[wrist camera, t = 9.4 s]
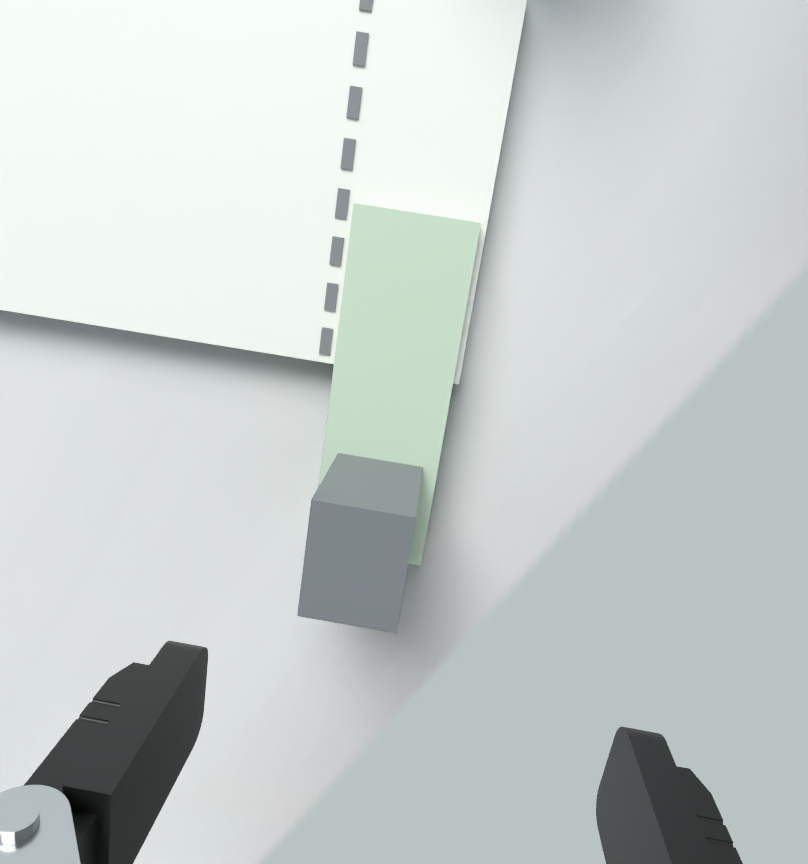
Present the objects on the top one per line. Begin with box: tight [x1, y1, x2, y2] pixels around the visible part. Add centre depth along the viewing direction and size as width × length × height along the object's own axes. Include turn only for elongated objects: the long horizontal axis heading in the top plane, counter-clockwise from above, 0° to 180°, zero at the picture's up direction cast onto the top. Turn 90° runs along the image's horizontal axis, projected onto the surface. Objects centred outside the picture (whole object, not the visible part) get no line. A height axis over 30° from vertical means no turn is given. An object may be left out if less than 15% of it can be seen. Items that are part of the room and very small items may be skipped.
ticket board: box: [0, 0, 527, 384], centre depth 29 cm, size 16×24×2 cm, turn 81°
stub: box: [297, 203, 481, 633], centre depth 27 cm, size 16×5×7 cm, turn 171°
